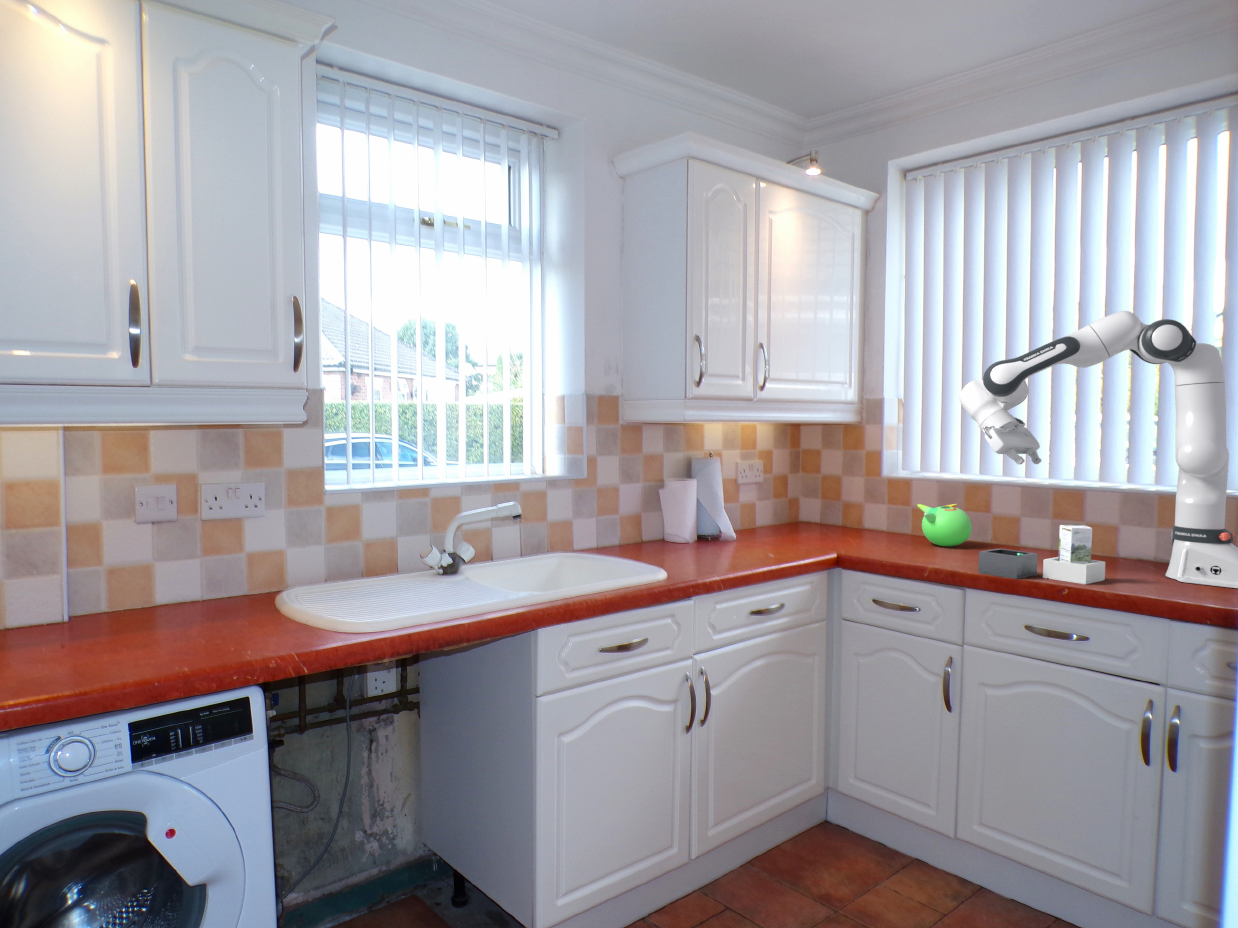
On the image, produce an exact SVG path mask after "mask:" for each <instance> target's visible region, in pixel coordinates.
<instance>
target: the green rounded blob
mask: <svg viewBox="0 0 1238 928" xmlns="http://www.w3.org/2000/svg"><path fill="white" fill-rule="evenodd" d="M957 505H958V503H953V504H946V505H938V506H937V507H932V506H931V507H930V506H928V505H925V504H921V503H918V504H917V508H919V509H920V510H921V511H922V512H923V517H922V520H921V529H922V532H923V535H924V537H925V538H926V539H927V540H928V541H929V542H931V543H933V544H934V545H936V546H941V547H955V546H959V545H962V544H963V543H966V541H967V540H968V539H969V538H970V536H971V534H972V529H973V526H972V522H971V521H972V520H971V518H970V517H969V515H968V514H967V513H966V512H965V511H964V510H962V509H961V508H958V507H956V506H957Z"/></svg>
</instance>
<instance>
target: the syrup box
mask: <svg viewBox="0 0 1238 928" xmlns="http://www.w3.org/2000/svg"><path fill="white" fill-rule="evenodd" d="M1092 542H1093V528H1092V527H1091V526H1088V525H1084V524H1080V525H1079V524H1060V525H1059V536H1058V553H1057V554H1058V556H1057V557H1058V561H1062V562H1070V563H1077V564H1089V563H1091V560H1092V559H1091V558H1092Z"/></svg>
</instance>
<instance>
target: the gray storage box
mask: <svg viewBox="0 0 1238 928" xmlns="http://www.w3.org/2000/svg"><path fill="white" fill-rule="evenodd" d="M1038 556H1039V555H1038V552H1036V553H1035V552H1031V551H1030V552H1029V551H1024V550H1023V551H1021V550H1014V549H1007V548H993V549H986V550H981V551H978V563H977V564H978V565H977V567H978V568H977V573H978V574H983V575H989V576H990V575H991V576H996V577H1000V578H1001V577H1002V578H1008V579H1014V580H1019V579H1025V578H1027V577H1028V576H1029V577H1034V576H1037V575H1038V559H1039V558H1038ZM1033 575H1034V576H1033Z"/></svg>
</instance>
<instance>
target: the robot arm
mask: <svg viewBox="0 0 1238 928" xmlns="http://www.w3.org/2000/svg"><path fill="white" fill-rule="evenodd" d="M1128 350H1129V351H1130V352H1132V353H1133V354H1134V355H1135V356H1137V357H1138V358H1139V359H1140V360H1142V361H1143V362H1145V363H1148V364H1152V365H1161V364H1167V363H1168V365H1169V366H1170V367H1171V368H1172V370H1173V374H1174V399H1175V402H1174V403H1175V404H1174V405H1175V444H1174V445H1175V462H1176V464H1177V466H1178V477H1177V485H1176V492H1175V493H1176V494H1175V510H1174V511H1175V513H1174V525H1173V526H1172V530H1171V546H1172V549H1171V550H1172V551H1171V556H1170V561H1169V565H1168V567H1167V570H1166V572H1165V574H1164V575H1165V577H1167V578H1170V579H1173V580H1177V581H1178V582H1182V583H1188V584H1196V585H1204V586H1205V585H1207V586H1215V587H1223V588H1224V587H1225V588H1234V589H1238V547H1237V546H1236V545H1235V544H1233V543H1234V537H1235V533H1236V532H1232V531H1230V530H1228V529H1226V527H1225V526H1226V525H1225V524H1226V506H1227V505H1226V504H1227V503H1226V502H1227V491H1228V487H1227V486H1228V476H1229V475H1228V474H1229V464H1230V463H1229V461H1230V460H1229V459H1230V453H1229V450H1228V447H1227V407H1226V406H1227V402H1226V401H1227V400H1226V383H1225V382H1226V381H1225V371H1224V366H1223V360H1222V356H1221V353H1220V351H1219V349H1218V348H1217V346H1215V345H1213V344H1210V343H1203V342H1198V343H1197V341H1196V339H1195V337H1193V335H1192V334H1191V332H1189V330H1188V329H1187V327H1186V326H1185V325H1184V324H1183V323H1182V322H1179V321H1178V320H1175V319H1169V318H1166V319H1163V318H1162V319H1159V320H1155V321H1154V322H1152V323H1150V324H1146V323H1143V322H1142V321H1141V320H1140V318H1139V317H1138V316H1137V315H1136V314H1135V313H1133V312H1131V311H1129V310H1121V311H1118V312H1114V313H1112V314H1109V315H1106V316H1103V317H1102V318H1099V319H1097V320H1095V321H1094V322H1093V321H1092V322H1091V323H1090V324H1088V325H1085V326H1083V327H1081V328H1079V329H1078V330H1075V331H1074V332H1071V333H1070V334H1068V335H1066V336H1063V337H1060V338H1057V339H1055V340H1053V341H1051V342H1048V343H1046V344H1043V345H1041V346H1039V347H1037V348H1035V349H1033V350H1031V351H1028V352H1027V353H1024V354H1022V355H1019V356H1017V357H1015V358H1014V357H1013V358H1010V359H1009V358H1008V359H1004V360H999V361H995V362H993V363H992V364H990V365H989V366H988V367H987V368H986V370H985V371H984V372H983V377H982V380H976V379H974V380H971V381H969V382H968V383H966V384H965V386H964V387H963V388H961V391H960V392H959V397H958V398H959V402H960V404H961V406H962V408H963V409H964V410H965V412H966V413H967V414H968V416H969V417H970V418H971V419H972V420H973V421H975V422H976V423H977V424H978V427H979V428H980V430H981V431H982V433H984V439H985V440H986V442H987V444H988V445H989V446H990V448H991V449H992V450H993V452H994V453H996V454H998V455H1006V456H1007V457H1008V458H1010V459H1011V460H1013V461H1014V462H1015V463H1016V465H1022V464H1024V463H1025V462H1026V461H1025V459H1024V457H1022V456H1020V455H1027V456H1028V457H1030V458H1031V462H1032V463H1033V464H1034V465H1039V464H1040V463H1041V462H1042V459H1041V458H1040V457H1039V454H1038V452H1037V451H1038V450H1039V449H1040V448H1041V446H1040V443H1039V441H1038V440H1037V438H1036V437H1035V436H1034V434H1033V433H1032V432H1031V431H1030V430H1029V429H1028V428H1027V427H1025V426H1026V423H1025V422H1024V420H1022V419H1020V418H1018V417H1016V416H1014V415H1012V414H1011V413H1010V412H1009V411H1008V410H1010V409H1011V410H1012V408H1015V407H1017V406H1019V405H1021V404H1022V403H1023V402H1024V401H1025V400H1026V398H1027V397H1028V395H1029V386H1028V383H1027V382H1026V380H1027V379H1028V378H1029V377H1031V376H1033V375H1035V374H1038V373H1040V372H1042V371H1044V370H1047V369H1049V368H1051V367H1053V366H1057V365H1064V364H1065V365H1072V366H1074V367H1077V368H1083V369H1086V368H1089V367H1093V366H1097V365H1098V364H1100V363H1103V362H1105V361H1106V360H1108V359H1110V358H1112V357H1114V356H1116V355H1118V354H1120V353H1122V352H1125V351H1128Z"/></svg>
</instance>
